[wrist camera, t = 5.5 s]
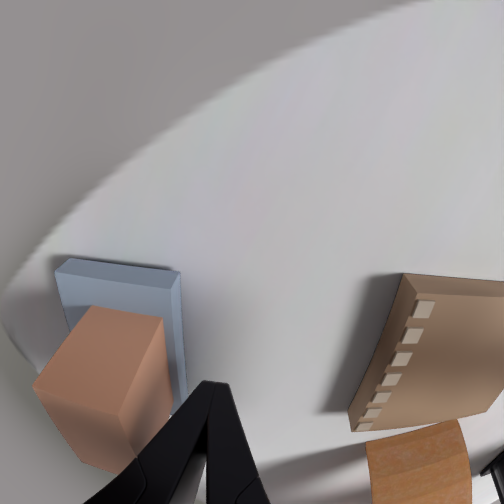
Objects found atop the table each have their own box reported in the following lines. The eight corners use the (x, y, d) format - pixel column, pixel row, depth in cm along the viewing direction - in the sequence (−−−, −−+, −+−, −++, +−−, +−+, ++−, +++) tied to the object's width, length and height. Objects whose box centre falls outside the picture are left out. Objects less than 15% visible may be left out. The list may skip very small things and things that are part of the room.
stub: (188, 398, 11) (164, 495, 7) (102, 379, 12) (61, 461, 7) (180, 271, 9) (120, 389, 5) (69, 257, 9) (-17, 340, 5)
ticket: (478, 396, 12) (486, 413, 11) (347, 411, 12) (351, 434, 11) (540, 284, 9) (556, 299, 8) (403, 273, 9) (418, 294, 8)
